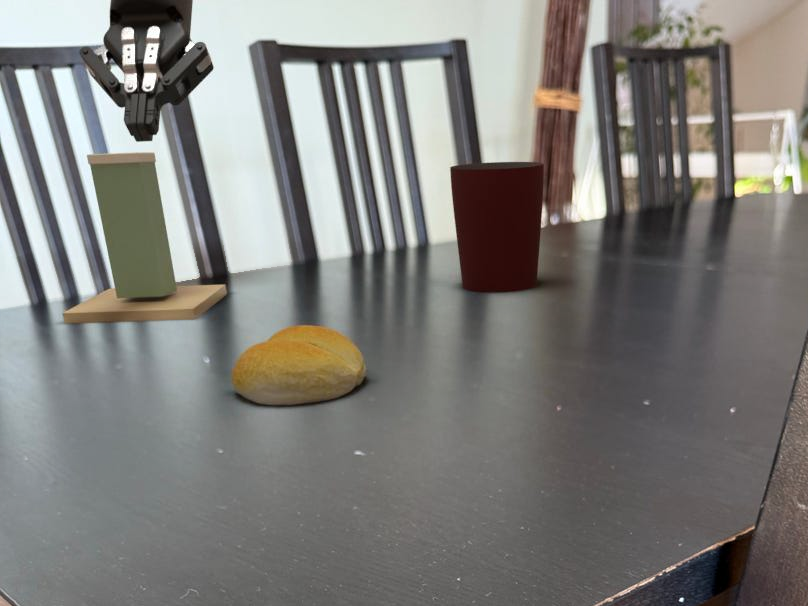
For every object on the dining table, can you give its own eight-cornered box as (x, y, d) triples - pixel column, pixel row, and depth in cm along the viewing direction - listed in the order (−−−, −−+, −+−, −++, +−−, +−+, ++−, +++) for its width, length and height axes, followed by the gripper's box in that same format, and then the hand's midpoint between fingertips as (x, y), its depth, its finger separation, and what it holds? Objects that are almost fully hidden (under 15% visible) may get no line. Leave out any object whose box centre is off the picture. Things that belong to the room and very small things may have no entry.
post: (115, 298, 88) (86, 154, 82) (132, 292, 92) (105, 154, 86) (163, 296, 88) (137, 152, 82) (178, 290, 92) (154, 152, 86)
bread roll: (214, 407, 62) (203, 344, 60) (282, 371, 69) (274, 315, 67) (327, 414, 59) (319, 350, 57) (385, 377, 66) (380, 318, 64)
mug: (469, 275, 102) (465, 160, 96) (551, 274, 100) (551, 158, 94) (447, 296, 91) (441, 170, 86) (538, 296, 90) (538, 167, 84)
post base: (65, 326, 86) (61, 312, 85) (111, 300, 96) (108, 288, 95) (195, 322, 85) (193, 308, 85) (227, 296, 96) (225, 284, 95)
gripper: (70, -43, 90) (53, 106, 86) (207, -50, 90) (196, 100, 85) (103, 26, 97) (89, 166, 93) (230, 20, 97) (221, 161, 93)
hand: (140, 134), depth 89 cm, fingers closed
